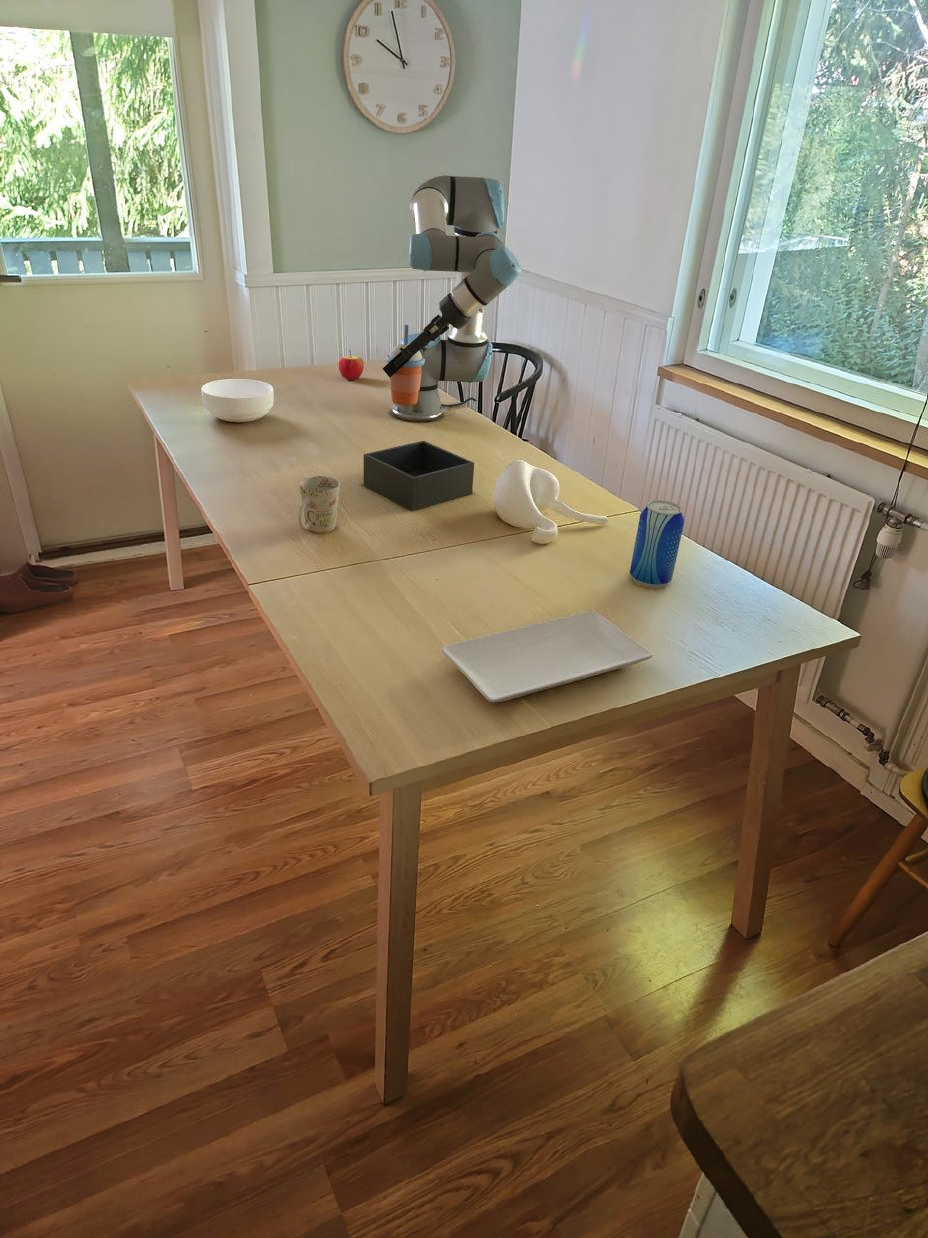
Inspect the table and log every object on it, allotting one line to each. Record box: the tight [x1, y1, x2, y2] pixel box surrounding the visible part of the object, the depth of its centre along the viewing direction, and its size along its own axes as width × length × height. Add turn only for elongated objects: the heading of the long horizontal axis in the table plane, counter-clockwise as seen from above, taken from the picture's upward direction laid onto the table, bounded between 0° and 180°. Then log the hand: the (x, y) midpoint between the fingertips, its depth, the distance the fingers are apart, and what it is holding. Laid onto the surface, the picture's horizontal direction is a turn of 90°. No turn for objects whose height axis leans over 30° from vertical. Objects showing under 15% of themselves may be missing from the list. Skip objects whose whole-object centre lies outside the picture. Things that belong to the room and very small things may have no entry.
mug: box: [298, 475, 341, 534], centre depth 175 cm, size 8×13×10 cm, turn 161°
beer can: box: [629, 499, 685, 590], centre depth 164 cm, size 8×8×16 cm
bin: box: [363, 440, 475, 511], centre depth 200 cm, size 19×19×8 cm
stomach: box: [493, 459, 609, 545], centre depth 188 cm, size 23×13×24 cm
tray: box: [441, 610, 653, 703], centre depth 137 cm, size 17×32×4 cm, turn 119°
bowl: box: [200, 378, 275, 423], centre depth 238 cm, size 20×20×8 cm
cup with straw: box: [386, 324, 425, 405], centre depth 199 cm, size 9×9×18 cm
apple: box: [337, 349, 365, 381], centre depth 280 cm, size 8×8×10 cm
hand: (392, 368), depth 200 cm, fingers closed on cup with straw, 9 cm apart
